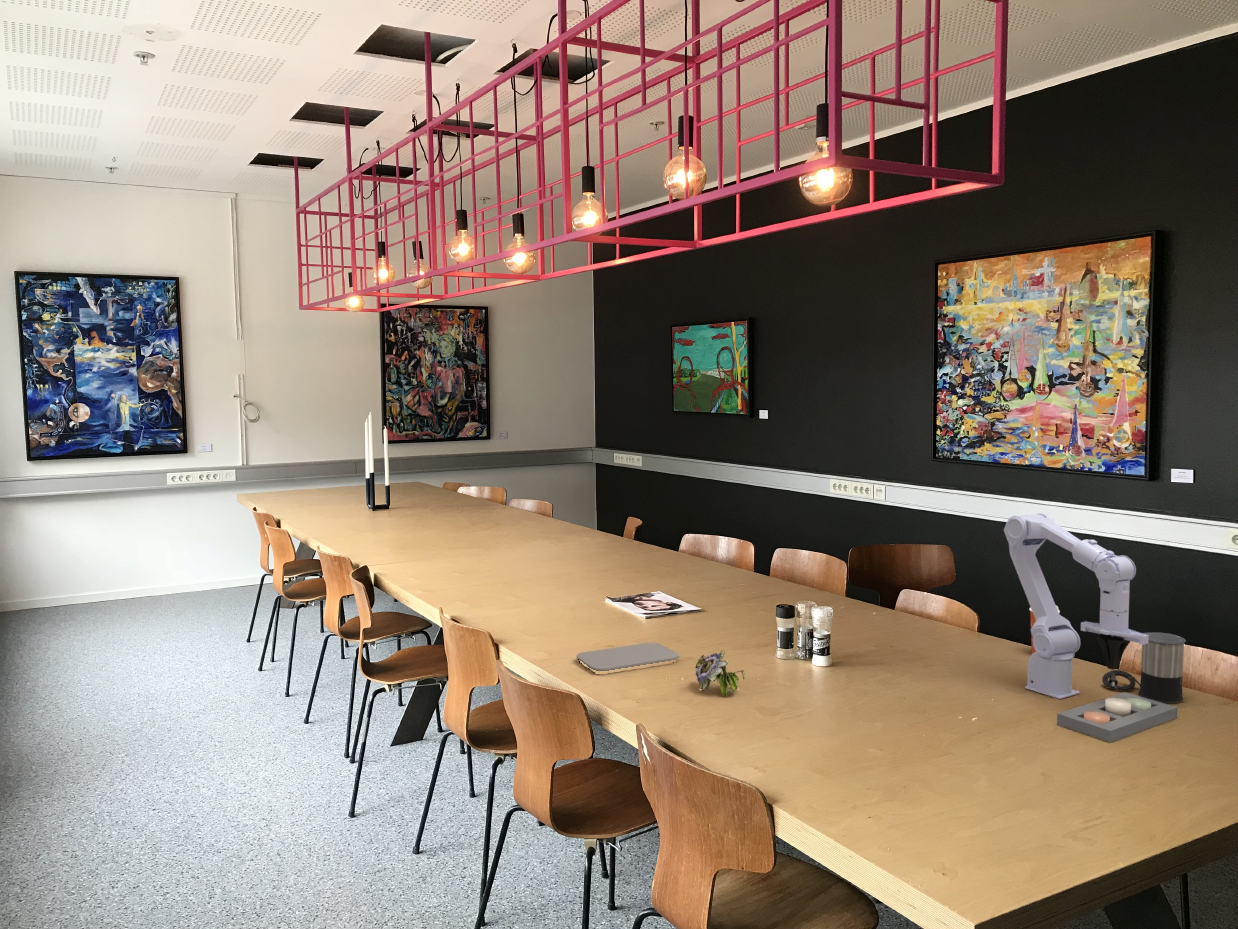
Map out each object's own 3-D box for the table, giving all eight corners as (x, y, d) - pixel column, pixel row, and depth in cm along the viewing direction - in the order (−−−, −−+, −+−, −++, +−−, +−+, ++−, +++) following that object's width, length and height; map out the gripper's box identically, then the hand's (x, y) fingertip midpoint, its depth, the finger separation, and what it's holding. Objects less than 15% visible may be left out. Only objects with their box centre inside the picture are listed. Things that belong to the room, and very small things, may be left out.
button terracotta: (1078, 726, 197) (1079, 714, 197) (1092, 722, 200) (1092, 710, 199) (1100, 734, 193) (1101, 721, 193) (1114, 729, 195) (1114, 716, 195)
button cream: (1100, 712, 201) (1100, 700, 201) (1113, 708, 204) (1113, 696, 203) (1122, 719, 197) (1122, 707, 196) (1135, 715, 199) (1135, 702, 199)
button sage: (1120, 712, 205) (1121, 700, 205) (1133, 708, 208) (1133, 696, 207) (1142, 719, 201) (1143, 707, 201) (1155, 715, 203) (1155, 703, 203)
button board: (1056, 724, 199) (1057, 713, 199) (1124, 702, 212) (1124, 692, 212) (1110, 742, 188) (1110, 731, 188) (1177, 718, 202) (1177, 707, 202)
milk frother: (1189, 705, 209) (1192, 643, 208) (1116, 701, 213) (1118, 640, 212) (1166, 686, 223) (1168, 627, 222) (1097, 682, 227) (1099, 624, 225)
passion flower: (702, 711, 224) (683, 666, 229) (740, 697, 228) (720, 654, 233) (715, 699, 215) (695, 653, 220) (754, 685, 219) (734, 639, 224)
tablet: (683, 664, 246) (683, 656, 246) (596, 678, 235) (596, 670, 235) (655, 649, 261) (655, 641, 261) (573, 661, 250) (572, 653, 250)
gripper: (1073, 605, 208) (1072, 663, 209) (1136, 618, 195) (1134, 679, 196) (1091, 601, 211) (1089, 658, 212) (1154, 614, 199) (1152, 674, 200)
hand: (1112, 668), depth 205 cm, fingers closed
